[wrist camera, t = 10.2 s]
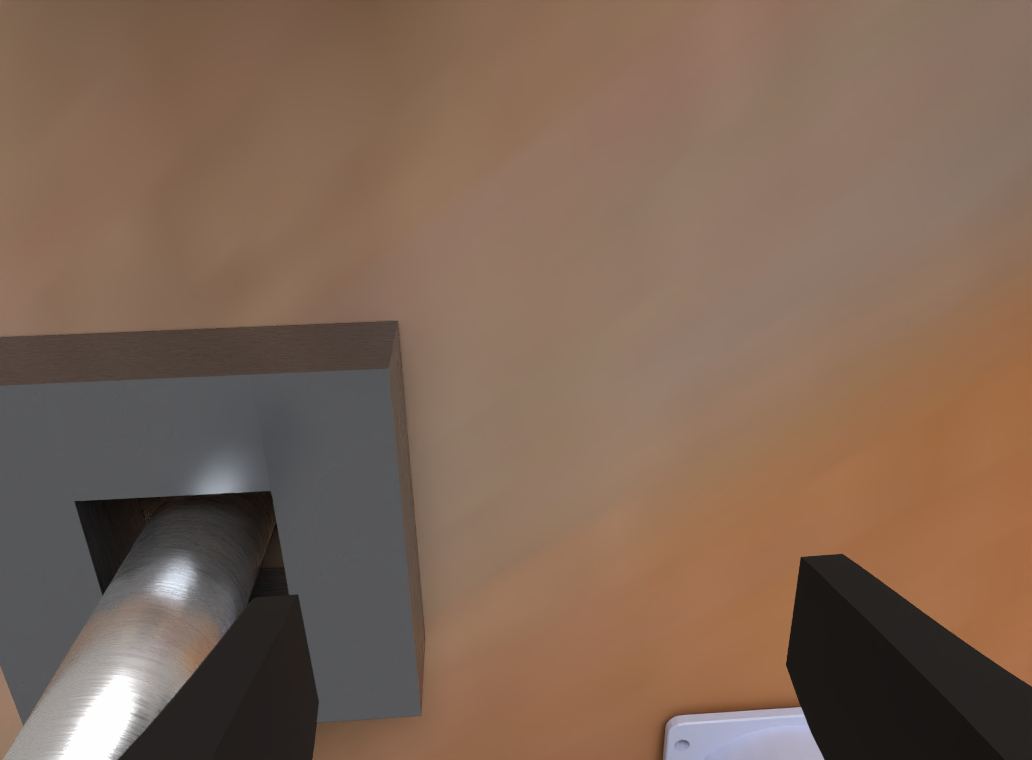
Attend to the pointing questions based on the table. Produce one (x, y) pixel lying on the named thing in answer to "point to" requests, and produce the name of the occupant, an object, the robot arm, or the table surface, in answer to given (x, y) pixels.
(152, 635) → the pin
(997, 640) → the table surface
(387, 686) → the clevis block
